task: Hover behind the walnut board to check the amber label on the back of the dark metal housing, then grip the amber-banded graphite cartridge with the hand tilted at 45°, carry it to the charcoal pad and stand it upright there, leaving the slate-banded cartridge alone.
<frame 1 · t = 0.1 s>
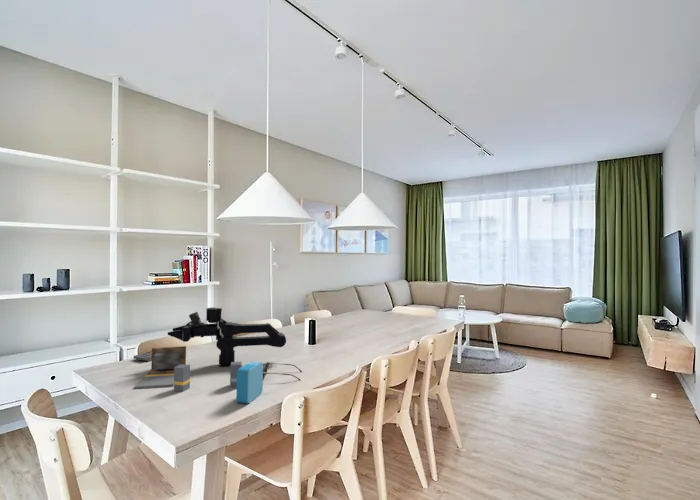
hand: (170, 331, 170), 17 cm above the table, tool horizontal, fingers open, 9 cm apart
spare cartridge: (181, 389, 143), on the table
mounted unit: (167, 370, 165), on the table
blue flat block: (249, 398, 135), on the table
graphics card: (152, 358, 186), on the table
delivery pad: (158, 381, 151), on the table
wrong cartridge: (235, 385, 147), on the table
sunglasses: (283, 377, 159), on the table
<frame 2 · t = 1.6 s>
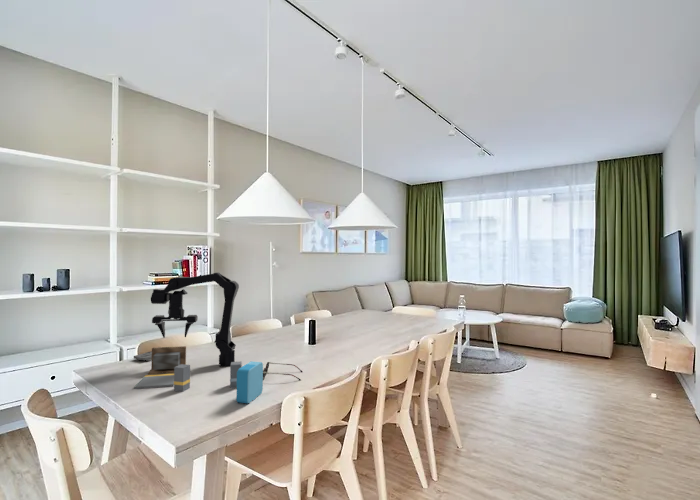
hand: (174, 337, 173), 13 cm above the table, tool pointing down, fingers open, 9 cm apart
nothing on the table moved.
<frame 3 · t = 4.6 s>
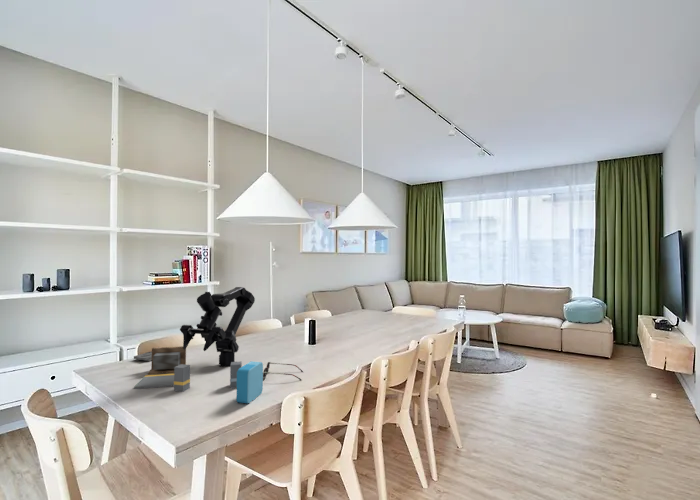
hand: (193, 349, 150), 13 cm above the table, tool tilted 45°, fingers open, 9 cm apart
nothing on the table moved.
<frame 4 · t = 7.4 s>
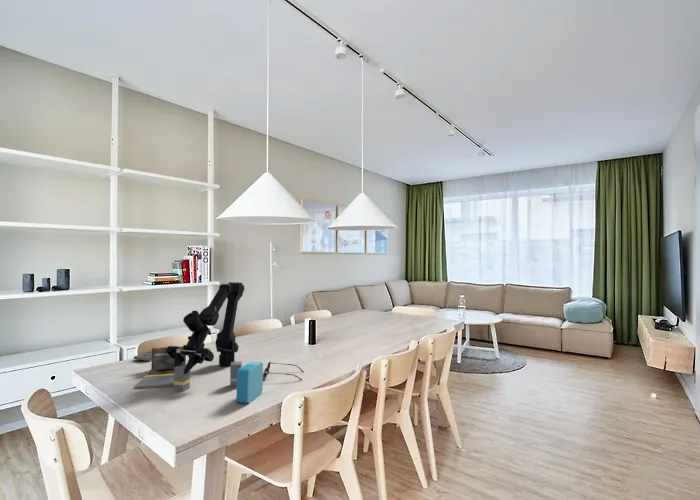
hand: (179, 373, 142), 7 cm above the table, tool tilted 45°, fingers closed on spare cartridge, 4 cm apart
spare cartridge: (181, 389, 143), on the table, touching gripper
everything else where it was.
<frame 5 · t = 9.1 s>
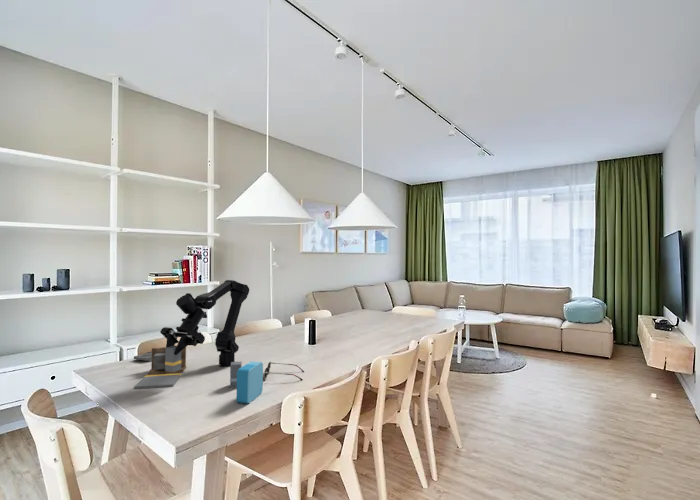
hand: (170, 353, 144), 13 cm above the table, tool tilted 45°, fingers closed on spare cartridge, 4 cm apart
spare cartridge: (173, 369, 145), point 7 cm above the table, touching gripper
everything else where it was.
when the fingers open (8 cm above the table, at t = 11.3 s): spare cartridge drops 1 cm, resting on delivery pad.
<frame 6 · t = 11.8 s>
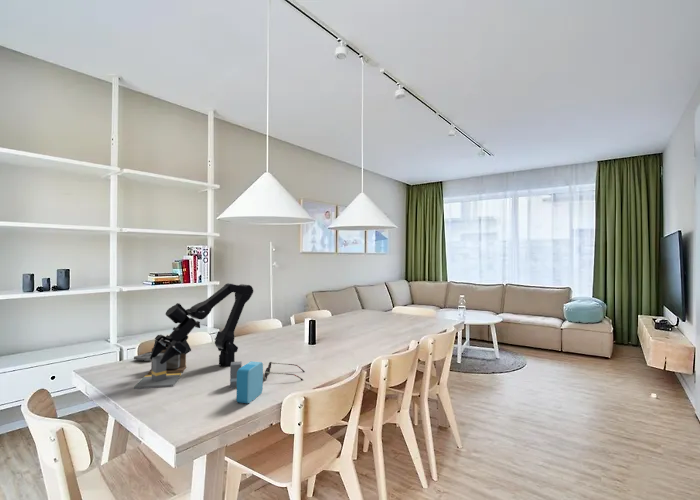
hand: (155, 361, 150), 9 cm above the table, tool tilted 45°, fingers open, 9 cm apart
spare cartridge: (158, 379, 151), point 1 cm above the table, touching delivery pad
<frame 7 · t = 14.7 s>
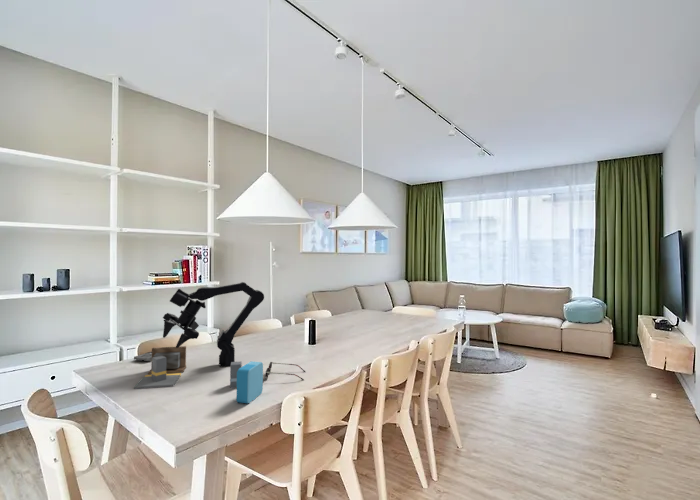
hand: (170, 342, 167), 12 cm above the table, tool tilted 30°, fingers open, 9 cm apart
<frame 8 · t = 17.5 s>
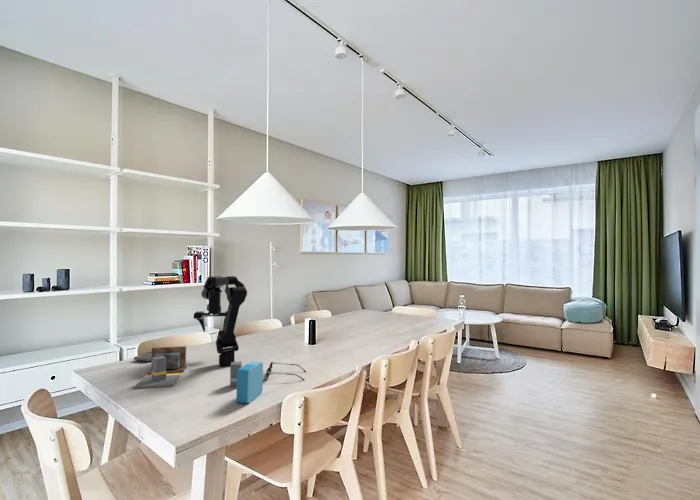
hand: (214, 331, 187), 13 cm above the table, tool pointing down, fingers open, 9 cm apart
at the end: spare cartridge inside the target area on the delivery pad (0.0 cm from its centre), point 0.8 cm above the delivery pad's base; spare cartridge tilted 0°; the gripper is holding nothing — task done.
